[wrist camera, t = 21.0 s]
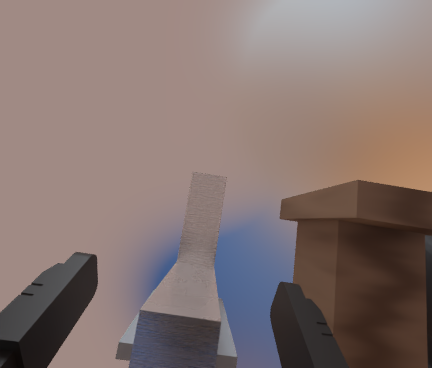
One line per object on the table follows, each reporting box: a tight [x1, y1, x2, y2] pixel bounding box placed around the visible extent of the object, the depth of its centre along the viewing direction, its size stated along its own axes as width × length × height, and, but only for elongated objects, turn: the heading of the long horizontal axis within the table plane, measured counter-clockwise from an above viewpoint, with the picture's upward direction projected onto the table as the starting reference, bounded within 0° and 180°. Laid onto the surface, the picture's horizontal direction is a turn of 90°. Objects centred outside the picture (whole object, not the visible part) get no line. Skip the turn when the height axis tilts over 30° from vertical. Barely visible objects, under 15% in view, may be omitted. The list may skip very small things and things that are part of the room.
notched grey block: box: [129, 172, 227, 368], centre depth 19 cm, size 4×17×14 cm, turn 2°
